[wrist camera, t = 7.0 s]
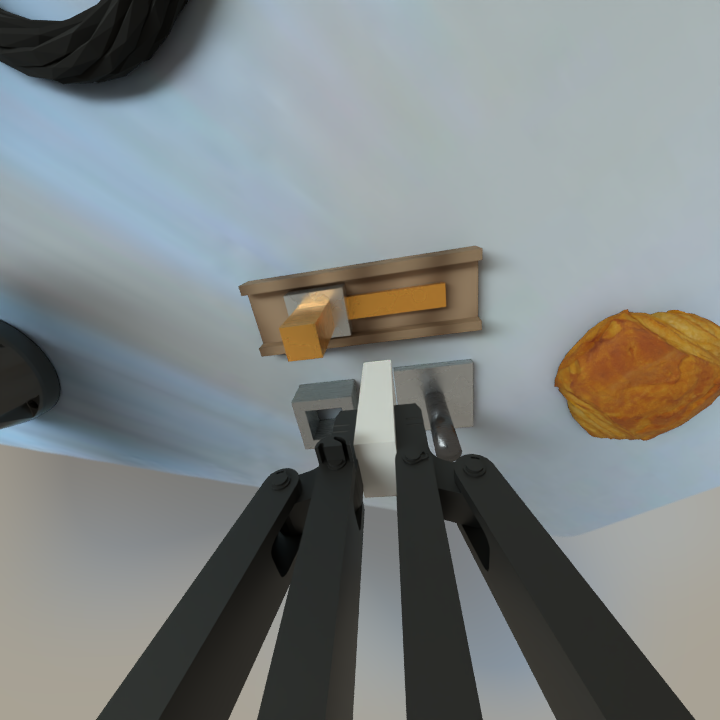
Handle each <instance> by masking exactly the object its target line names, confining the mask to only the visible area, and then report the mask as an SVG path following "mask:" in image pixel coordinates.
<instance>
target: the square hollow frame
mask: <svg viewBox="0 0 720 720" xmlns="http://www.w3.org/2000/svg"><path fill="white" fill-rule="evenodd" d="M291 403H292V407H293V410H294V413H295V416H296V420H297V423H298V426H299V429H300V433H301V436H302V439H303V442H304V446H305V449H315V446H316V444H317V443H318V442H319V441H320V440H321V439H322V438H324V437H326V436H329V435H332V433H333V432H332V431H333V427H334V422H335V419H328V420H319V417H318V413H317V410H321V409H332V408H342V411H345V410H356V409H358V403H359V402H358V397H357V392H356V387H355V381H354V379H351V380H342V381H332V382H323V383H314V384H304V385H300V386H299V388H298V390H297V392H296V394H295V396H294V398H293V400H292V402H291Z"/></svg>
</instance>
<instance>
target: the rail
mask: <svg viewBox="0 0 720 720" xmlns="http://www.w3.org/2000/svg"><path fill="white" fill-rule="evenodd" d="M478 260H482V248H480V247H477V246H471V247H464V248H458V249H451V250H445V251H439V252H432V253H426V254H420V255H413V256H407V257H400V258H394V259H388V260H381V261H375V262H369V263H362V264H356V265H350V266H343V267H337V268H330V269H324V270H318V271H311V272H305V273H299V274H292V275H286V276H279V277H273V278H267V279H260V280H254V281H248V282H246V283H244V284H242V285H240V286H238V287H239V290H240V293H241V296H245V295H248V297H249V300H250V303H251V307H252V310H253V313H254V316H255V319H256V322H257V325H258V328H259V331H260V334H261V338H262V341H263V345H262V346H261V347H260V348H259V350H260V353H261V356H270V355H279V354H286V352H285V348H284V345H283V341H282V338H281V334H280V331H279V327H280V326H281V325H282V324H283V323H284V322H285V321H286V320H287V318H288V317H289V315H288V312H287V308H286V304H285V301H284V297H283V296H284V295H286V294H287V293H288V292H290V291H296V290H303V289H310V288H316V287H323V286H330V285H336V284H343V283H344V284H345V289H346V295H347V296H349V295H356V294H363V293H370V292H377V291H384V290H391V289H398V288H405V287H412V286H419V285H426V284H433V283H440V282H445V288H446V307H440V308H433V309H425V310H418V311H410V312H403V313H395V314H387V315H380V316H372V317H365V318H357V319H351V322H352V328H353V329H352V333H351V335H349V336H342V337H334V338H331V339H330V342H329V344H328V346H327V349H328V348H336V347H345V346H353V345H361V344H369V343H378V342H386V341H394V340H402V339H411V338H419V337H427V336H436V335H444V334H452V333H460V332H469V331H477V330H482V321H481V319H480V318H479V317H478Z"/></svg>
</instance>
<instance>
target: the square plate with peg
mask: <svg viewBox="0 0 720 720" xmlns="http://www.w3.org/2000/svg"><path fill="white" fill-rule="evenodd" d="M394 378H395V385H396V393H397V401H398V405H401V404H411V403H416V404H417V405H418V406H419V407H420V408H421V411H422V416H423V421H424V426H425V430H431V432H432V437H433V442H434V447H435V451H436V456H437V457H438V458H440V459H442V460H446V461H451V462H453V461H456V460H457V459H458V458H459V457H460V456H461V454H462V450H461V447H460V444H459V441H458V437H457V434H456V431H455V428H460V427H473V362H472V360H471V359H469V360H459V361H450V362H441V363H432V364H423V365H414V366H405V367H395V368H394Z"/></svg>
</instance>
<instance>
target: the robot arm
mask: <svg viewBox="0 0 720 720" xmlns="http://www.w3.org/2000/svg"><path fill="white" fill-rule="evenodd" d="M59 394H60V386H59V381H58V377H57V375H56V372H55V370H54V368H53V366H52V365H51V363H50V361H49V360H48V359H47V357H46V356H45V355H44V353H43V352H42V351H41V350H40V349H39V348H38V347H37V346H36V345H35V344H34V343H33V342H32V341H31V340H30V339H29V338H27V337H26V336H25V335H23V334H22V333H21V332H19V331H18V330H16V329H15V328H13V327H11V326H10V325H8V324H6V323H4V322H2V321H0V429H3V428H7V427H10V426H14V425H17V424H21V423H24V422H27V421H30V420H32V419H34V418H36V417H38V416H40V415H41V414H43V413H45V412H46V411H48V410H50V409H51V408H52V407H53V406H54V405H55V404H56V403H57V401H58V398H59ZM332 432H333V433H332V435H329V436H326V437H324V438H322V439H321V440H320V441H319V442H318V443H317V444H316V446H315V451H316V455H317V458H318V461H319V467H317V468H316V469H314V470H311V471H309V472H306V473H303V474H300V475H298V473H297V472H296V471H295V470H293V469H290V468H285V469H281V470H278V471H276V472H274V473H272V474H271V475H270V476H269V477H268V478H267V479H266V480H265V481H264V483H263V484H262V486H261V487H260V488H259V490H258V491H257V493H256V494H255V496H254V497H253V498H252V500H251V501H250V503H249V504H248V505H247V507H246V508H245V510H244V511H243V513H242V514H241V516H240V517H239V518H238V520H237V521H236V523H235V524H234V525H233V527H232V528H231V529H230V531H229V532H228V534H227V535H226V537H225V538H224V539H223V541H222V542H221V544H220V545H219V546H218V548H217V549H216V551H215V552H214V554H213V555H212V556H211V558H210V559H209V561H208V562H207V563H206V565H205V566H204V568H203V569H202V571H201V572H200V573H199V575H198V576H197V578H196V579H195V581H194V582H193V583H192V585H191V586H190V588H189V589H188V590H187V592H186V593H185V595H184V596H183V597H182V599H181V600H180V602H179V603H178V604H177V606H176V607H175V609H174V610H173V612H172V613H171V614H170V616H169V617H168V619H167V620H166V621H165V623H164V624H163V626H162V627H161V629H160V630H159V632H158V633H157V634H156V636H155V637H154V638H153V640H152V641H151V643H150V644H149V646H148V647H147V648H146V650H145V651H144V653H143V654H142V656H141V657H140V658H139V660H138V661H137V663H136V664H135V665H134V667H133V668H132V670H131V671H130V672H129V674H128V675H127V677H126V678H125V680H124V681H123V682H122V684H121V685H120V687H119V688H118V689H117V691H116V692H115V694H114V695H113V697H112V698H111V699H110V701H109V702H108V704H107V705H106V707H105V708H104V709H103V711H102V712H101V713H100V715H99V716H98V718H97V719H96V720H228V719H229V717H230V715H231V712H232V710H233V708H234V706H235V703H236V701H237V699H238V697H239V695H240V693H241V690H242V688H243V686H244V684H245V681H246V679H247V677H248V675H249V673H250V671H251V668H252V666H253V664H254V662H255V660H256V657H257V655H258V653H259V651H260V649H261V646H262V644H263V642H264V640H265V638H266V636H267V633H268V631H269V629H270V627H271V624H272V622H273V620H274V618H275V616H276V614H277V611H278V609H279V607H280V605H281V603H282V600H283V598H284V596H285V594H286V592H287V589H288V587H289V585H290V587H289V591H288V595H287V599H286V604H285V607H284V612H283V616H282V620H281V624H280V628H279V632H278V636H277V641H276V645H275V649H274V653H273V657H272V661H271V665H270V670H269V673H268V677H267V682H266V686H265V690H264V694H263V698H262V702H261V706H260V710H259V715H258V718H257V720H353V704H354V686H355V668H356V651H357V632H358V616H359V598H360V580H361V562H362V545H363V528H364V504H363V491H364V496H365V498H367V497H385V496H397V516H398V536H399V537H398V538H399V558H400V582H401V604H402V626H403V647H404V669H405V691H406V713H407V720H483V719H482V714H481V709H480V703H479V698H478V693H477V688H476V682H475V677H474V673H473V667H472V662H471V657H470V652H469V647H468V642H467V636H466V631H465V626H464V621H463V616H462V611H461V605H460V600H459V595H458V590H457V585H456V580H455V575H454V569H453V564H452V559H451V554H450V549H449V544H448V538H447V533H446V529H445V523H444V520H447V521H451V522H455V523H457V525H458V528H459V530H460V531H461V533H462V535H463V537H464V539H465V541H466V543H467V545H468V547H469V549H470V551H471V553H472V555H473V557H474V559H475V561H476V563H477V565H478V567H479V569H480V571H481V573H482V574H483V577H484V578H485V580H486V582H487V584H488V586H489V588H490V590H491V592H492V594H493V596H494V598H495V600H496V602H497V604H498V606H499V608H500V610H501V612H502V614H503V616H504V617H505V620H506V621H507V624H508V626H509V627H510V629H511V631H512V633H513V635H514V637H515V639H516V641H517V643H518V645H519V647H520V649H521V651H522V653H523V655H524V657H525V659H526V661H527V662H528V665H529V667H530V669H531V671H532V672H533V674H534V676H535V678H536V680H537V682H538V684H539V686H540V688H541V690H542V692H543V694H544V696H545V698H546V700H547V702H548V704H549V706H550V708H551V710H552V712H553V714H554V715H555V718H556V719H557V720H695V719H694V717H693V716H692V715H691V714H690V712H689V711H688V710H687V709H686V707H685V706H684V705H683V703H682V702H681V701H680V700H679V698H678V697H677V696H676V695H675V693H674V692H673V691H672V690H671V688H670V687H669V686H668V685H667V683H666V682H665V681H664V679H663V678H662V677H661V676H660V674H659V673H658V672H657V671H656V669H655V668H654V667H653V666H652V665H651V663H650V662H649V661H648V659H647V658H646V657H645V655H644V654H643V653H642V652H641V651H640V649H639V648H638V647H637V645H636V644H635V643H634V641H633V640H632V639H631V638H630V636H629V635H628V634H627V633H626V631H625V630H624V629H623V628H622V626H621V625H620V624H619V623H618V621H617V620H616V619H615V618H614V616H613V615H612V614H611V612H610V611H609V610H608V609H607V607H606V606H605V605H604V603H603V602H602V601H601V600H600V598H599V597H598V596H597V595H596V593H595V592H594V591H593V590H592V588H591V587H590V586H589V584H588V583H587V582H586V581H585V579H584V578H583V577H582V576H581V575H580V573H579V572H578V571H577V569H576V568H575V567H574V566H573V564H572V563H571V562H570V560H569V559H568V558H567V557H566V555H565V554H564V553H563V552H562V550H561V549H560V548H559V547H558V545H557V544H556V543H555V541H554V540H553V539H552V538H551V536H550V535H549V534H548V533H547V531H546V530H545V529H544V528H543V526H542V525H541V524H540V522H539V521H538V520H537V519H536V517H535V516H534V515H533V514H532V512H531V511H530V510H529V509H528V507H527V506H526V505H525V503H524V502H523V501H522V500H521V498H520V497H519V496H518V495H517V493H516V492H515V491H514V490H513V488H512V487H511V486H510V484H509V483H508V482H507V481H506V479H505V478H504V477H503V476H502V474H501V473H500V472H499V471H498V469H497V468H496V467H495V465H494V464H493V463H492V462H491V461H490V460H488V459H487V458H485V457H483V456H481V455H475V454H468V455H463V456H461V457H459V458H458V459H457V460H456V461H455V462H451V461H446V460H442V459H440V458H438V457H436V456H435V455H433V454H432V452H431V451H430V449H429V447H428V442H427V437H426V431H425V426H424V421H423V416H422V411H421V408H420V407H419V406H418V405H417V404H416V403H411V404H401V405H396V397H395V390H394V382H393V374H392V367H391V360H383V361H374V362H366V363H363V371H362V379H361V387H360V395H359V403H358V409H356V410H345V411H341V412H340V413H339V414H338V415H337V417H336V418H335V422H334V427H333V431H332Z"/></svg>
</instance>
